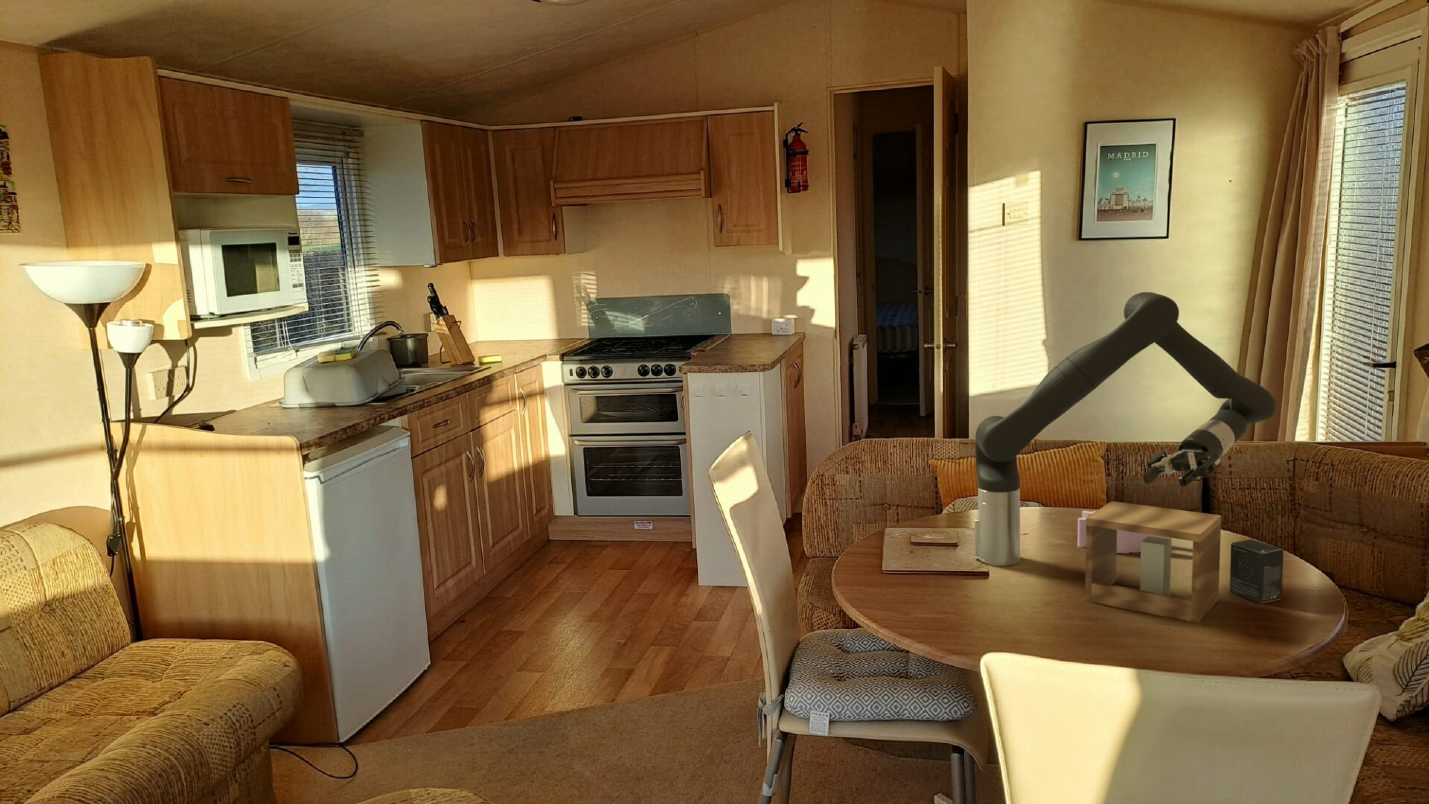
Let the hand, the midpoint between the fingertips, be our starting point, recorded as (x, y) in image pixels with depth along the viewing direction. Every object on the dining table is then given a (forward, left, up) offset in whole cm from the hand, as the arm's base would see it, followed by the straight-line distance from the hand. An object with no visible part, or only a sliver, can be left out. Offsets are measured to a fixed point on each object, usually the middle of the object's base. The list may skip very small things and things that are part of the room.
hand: (1163, 481), depth 211 cm
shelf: (+2, -12, -22) cm, 25 cm away
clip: (-14, +19, -22) cm, 33 cm away
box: (+18, +1, -22) cm, 28 cm away
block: (+2, -10, -22) cm, 24 cm away
